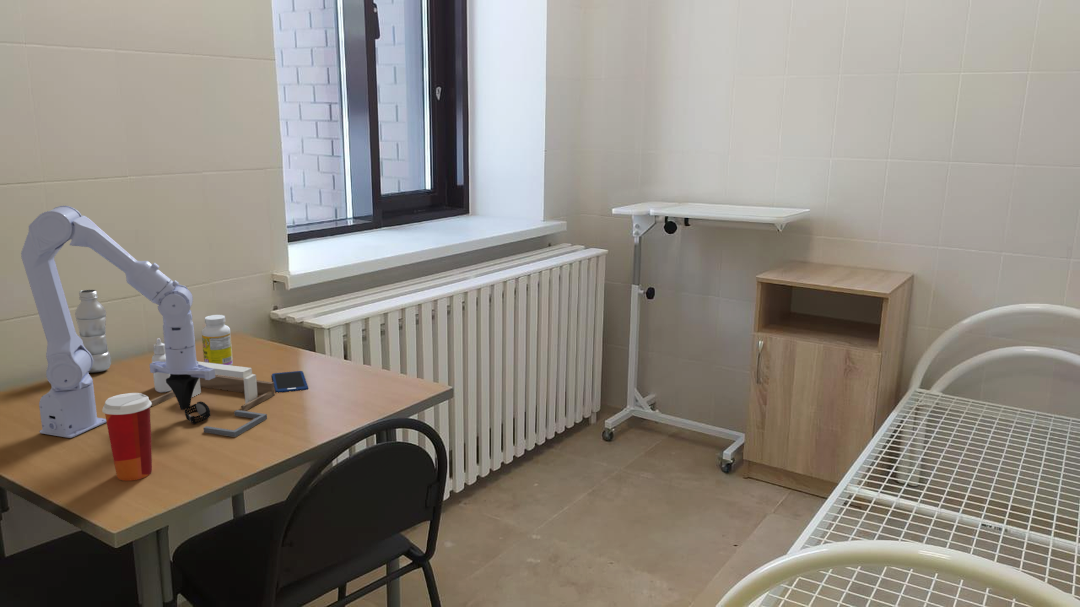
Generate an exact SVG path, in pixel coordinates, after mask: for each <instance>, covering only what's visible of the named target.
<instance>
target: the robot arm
mask: <svg viewBox="0 0 1080 607" xmlns="http://www.w3.org/2000/svg"><path fill="white" fill-rule="evenodd" d="M69 241H70V243H69V246H71V247H84V248H90V249H91V250H92V251H94V252H96V253H97V254H98V255H99V256H101V257H102V258H104V259H105V260H107V261H108V262H109V263H111V264H112V265H113V266H115V267H117V269H119V270H120V271H122V272H123V273H124V274H125V279H126V283H127V284H128V285H130V286H131V287H132V288H133V289H135V290H136V291H137V292H139V293H140V294H141V295H142V296H144V298H146V299H148V300H149V301H150V302H151V303H152V304H156V305H157V309H158V312H159V314H160V315H161V316H162V331H163V341H164V342H163V343H164V344H165V356H166V362H159V361H156V362H153V363H152V362H151V363H149V372H150V374H151V373H152V374H153V373H156V372H160V373H167V374H170V377H169V378H167V379H166V383H167V384H168V385H169V386H170V388H171V389H172V390H171V391H173V392H174V394H175V396H174V397H176V401H177V403H178V405H179V408H180V410H181V411H185V410H186V409H187V408H188V407H190V406H191V404H192V399H193V398H192V394H193V390H194V388H195V385H196V383H197V381H198V379H199V378H205V380H211V379H213V378H215V369H214V368H209V367H206V366H203V365H200V364H198V360H197V351H196V339H195V328H194V322H193V314H192V310H191V308H192V306H193V302H194V296H193V294H192V292H191V290H189V289H188V287H187V286H186V285H183V284H180V282H179V281H177V280H176V279H175V280H173V279H172V278H170V277H169V276H167V275H166V274H164V273H163V272H162V271H161V270H160V269H159V268H160V265H159V264H157V263H156V262H153V263H151V262H150V261H149V260H137V259H136V258H135V257H134V256H133V255H132V254H130V253H129V252H128V251H127V250H126V249H124V247H122V246H121V245H120V244H119V243H118V242H116V241H115V240H114V239H113V238H112V237H110V236H109V235H108V234H107V233H106V232H105V231H104V230H103V229H101V228H100V227H99V226H98V225H97V224H96V223H95V222H94V221H93V220H91V219H90V218H89V217H88V216H86V215H85V214H83V215H82V214H81V212H80V211H79V210H77V209H76V208H75V207H72V206H69V205H59V206H55V207H54V208H52V209H51V210H47V211H44V212H42V213H40V214H39V215H38V216H36V218H35V219H34V220H33V221H31V223H30V224H28V232H27V235H26V237H25V240H24V243H23V246H22V250H21V252H20V256H21V257H20V258H21V261H22V264H23V268H24V270H25V273H26V274H25V275H26V277H27V280H28V284H29V287H30V290H31V293H32V296H33V301H34V304H35V306H36V310H37V312H38V316H39V319H40V323H41V326H42V329H43V334H44V336H45V339H46V342H47V345H46V352H45V356H46V358H45V359H46V361H47V367H46V372H45V375H46V380H47V381H48V382H49V384H50V386H51V388H50V390H49V391H48V392H47V393H46V394H45V393H44V394H43V395H42V396H41V397H40V400H39V403H38V405H39V406H38V407H39V413H40V414H39V416H40V422H41V428H42V429H41V430H39V434H45V435H48V436H55V437H56V436H57V437H61V438H62V437H63V438H67V439H71V438H74V437H76V436H79V435H81V434H83V433H85V432H87V431H90V430H92V429H94V428H96V427H98V426H101V425H103V424H105V423H106V424H107V422H106V418H103V417H98V415H97V414H98V413H97V404H96V396H95V388H94V380H93V378H92V376H91V375H90V374H89V373H90V372H89V371H90V370H91V368H92V366H93V357H92V355H91V353H90V352H89V351H88V350H87V349H86V348H85V347H84V345H83V341H82V339H81V338H80V335H78V334H77V331H76V328H75V325H74V322H73V318H72V314H71V311H70V309H69V305H68V301H67V299H66V295H65V291H64V289H63V285H62V281H61V278H60V274H59V271H58V268H57V263H56V261H55V256H57V254H58V253H59V252H60V250H61V249H62V248H63V247H64V245H65V244H66V243H67V242H69Z"/></svg>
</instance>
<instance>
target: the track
mask: <svg viewBox="0 0 1080 607" xmlns="http://www.w3.org/2000/svg"><path fill="white" fill-rule="evenodd" d="M256 381H257V396H258V397H257V398H256V399H254V400H252V401H250V402H248V403H246V404H242V405H241V406H240V408H241V409H240V410H241V411H248V410H250V409H252V408H254V407H255V406H257V405H259V404H261V403H263V402H265V401H267V400H268V399H271V398H272V397H274V396H275V393H276V392H275V388H274V382H273V381H265V380H257V379H256ZM200 387H201V388H205V387H206V388H207V389H212V388H214V389H215V390H220V389H222V390H221V391H227V390H228V392H236V393H242V394H243V393H244V394H245V391H244V378H238V377H230V376H222V375H215V378H213V379H211V380H205V378H200ZM174 397H176V396H175V394H174V392H173V391H172V390H171V391H168V392H167V393H166V392H165V393H164V394H162V395H160V396H158V397H155V398H152V399H151V400H150V401H151V402H152V405H151V406H153V405H155V406H157V405H159V404H161V403H163V402H165V400H166V401H168V400H170V399H172V398H174ZM167 399H168V400H167ZM162 401H163V402H162ZM160 402H161V403H160ZM158 403H159V404H158ZM156 404H157V405H156ZM151 406H150V408H152V407H151ZM153 407H154V406H153Z"/></svg>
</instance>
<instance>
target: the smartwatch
mask: <svg viewBox="0 0 1080 607" xmlns="http://www.w3.org/2000/svg"><path fill="white" fill-rule="evenodd" d="M183 412H184V415H185V418H186V420H187V421H189V422H190V423H191V424H192V425H197V424H198V423H202V422H203V421H205V420H208V418H210V417H211V409H210V408H209V406H208V404H206V403H205V402H203V401H201V400H200V401H197V402H196V403H195V404H193V405H190V407H188V408H187V409H185V410H183ZM194 413H198V415H192V414H194Z"/></svg>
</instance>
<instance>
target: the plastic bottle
mask: <svg viewBox="0 0 1080 607" xmlns="http://www.w3.org/2000/svg"><path fill="white" fill-rule="evenodd" d="M78 295H79V300H80V302H79V304H78V305H77V307H76V308H75V312H74V316H75V320H76V324H77V327H78V333H79V337H80V338H81V339H82V341H83V345H84V347H85V348H86V349H87V350H88V351H89V352H90V353H91V355H92V357H93V366H92V368H91V370H90V371H89V373H100V372H104V371H107V370H109V368H110V367H111V364H112V358H111V354H110V351H109V348H108V342H107V335H106V325H107V324H106V322H107V320H106V319H107V311H106V308H105V306H103V304H102V303H101V302H100V301H98V298H99V295H98V291H97V290H96V289H83V290H80V291H79V292H78Z"/></svg>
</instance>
